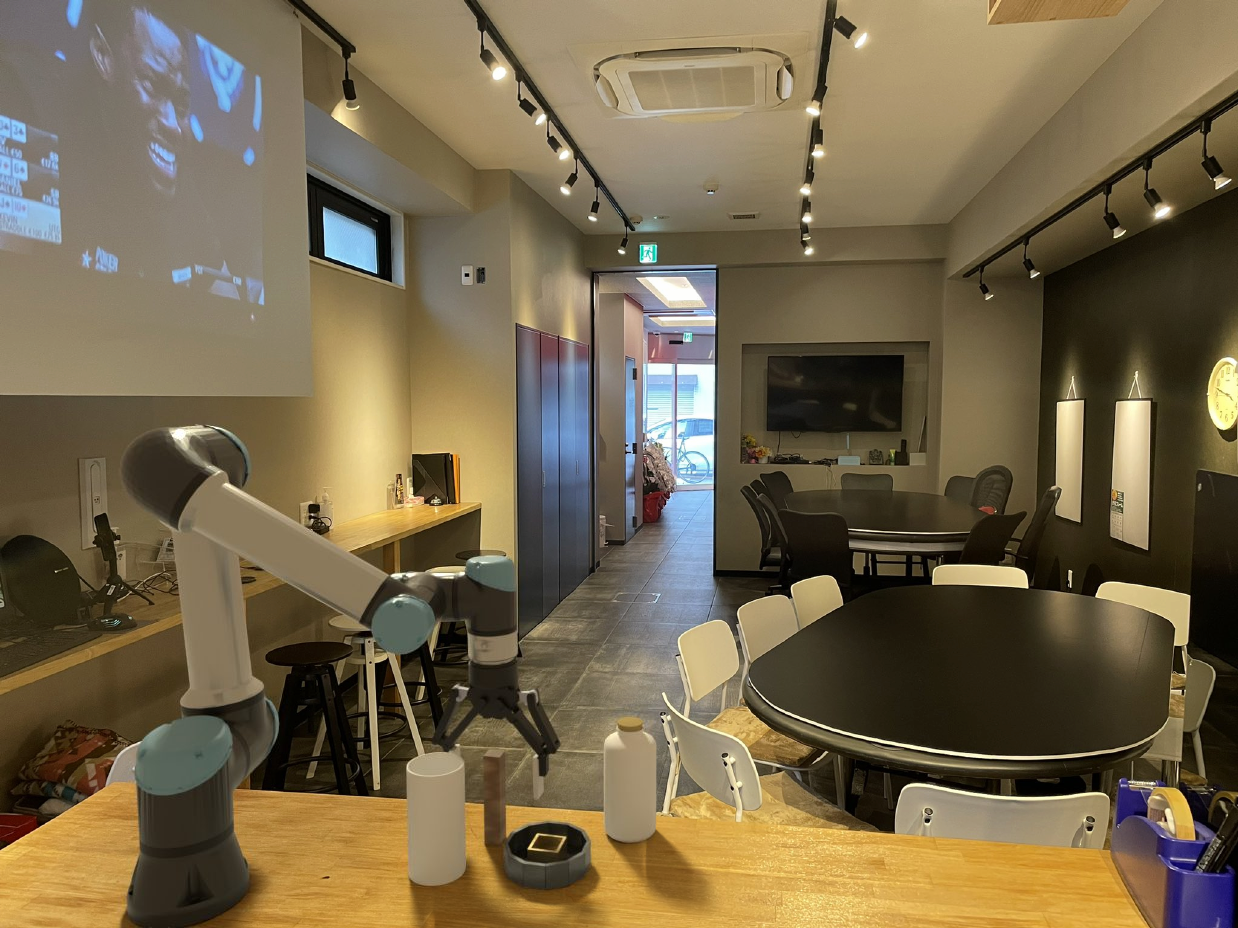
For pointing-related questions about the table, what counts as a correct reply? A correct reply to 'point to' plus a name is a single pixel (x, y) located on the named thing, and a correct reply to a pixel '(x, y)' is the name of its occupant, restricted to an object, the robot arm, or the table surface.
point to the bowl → (547, 855)
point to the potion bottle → (630, 782)
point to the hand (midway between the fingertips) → (496, 791)
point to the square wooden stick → (494, 797)
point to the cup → (436, 818)
